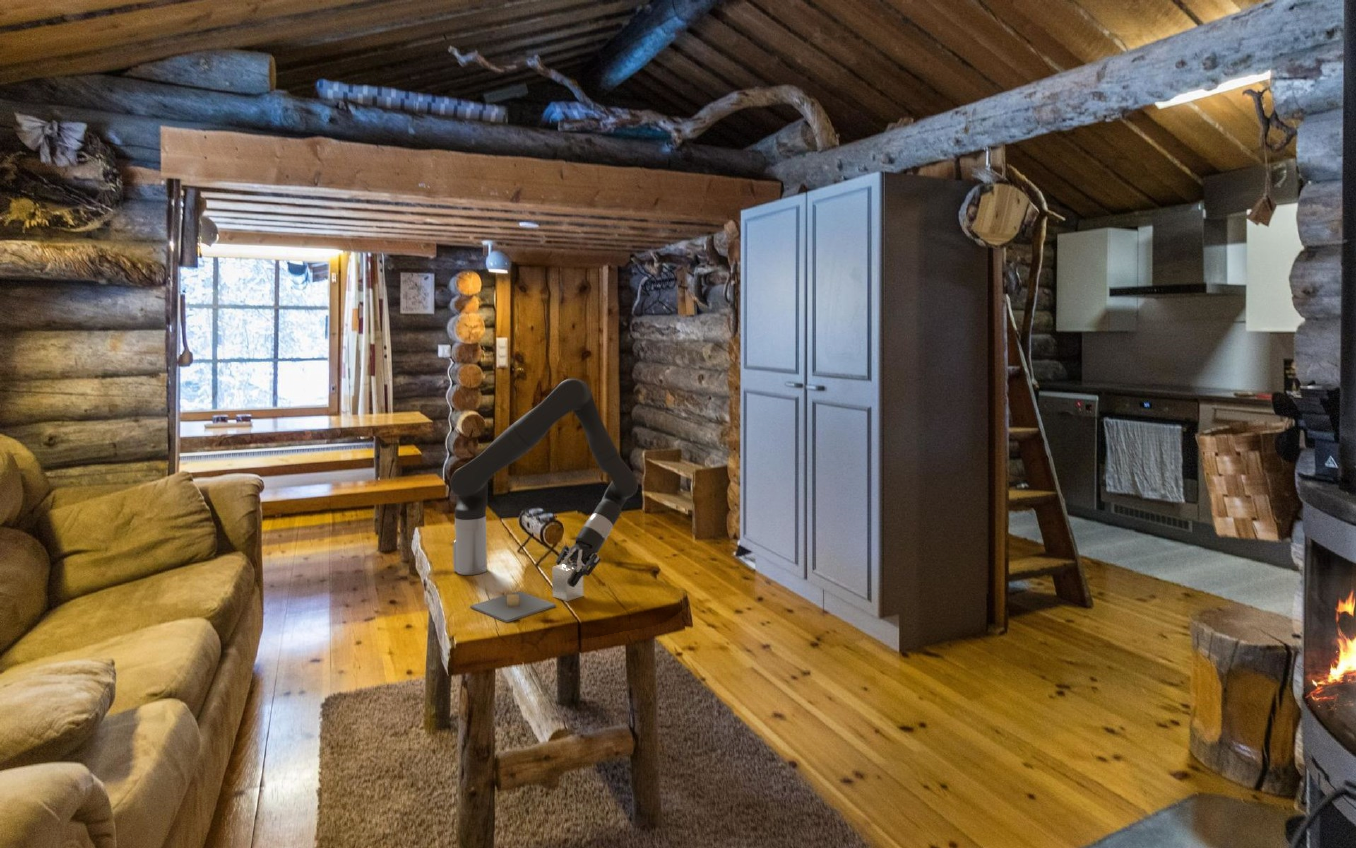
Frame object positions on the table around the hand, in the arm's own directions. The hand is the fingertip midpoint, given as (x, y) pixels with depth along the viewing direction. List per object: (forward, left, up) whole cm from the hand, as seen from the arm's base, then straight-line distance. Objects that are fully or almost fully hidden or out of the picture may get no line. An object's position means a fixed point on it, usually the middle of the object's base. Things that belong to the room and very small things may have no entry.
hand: (563, 582), depth 213 cm
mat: (-8, -12, -4) cm, 15 cm away
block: (0, +2, -4) cm, 5 cm away
